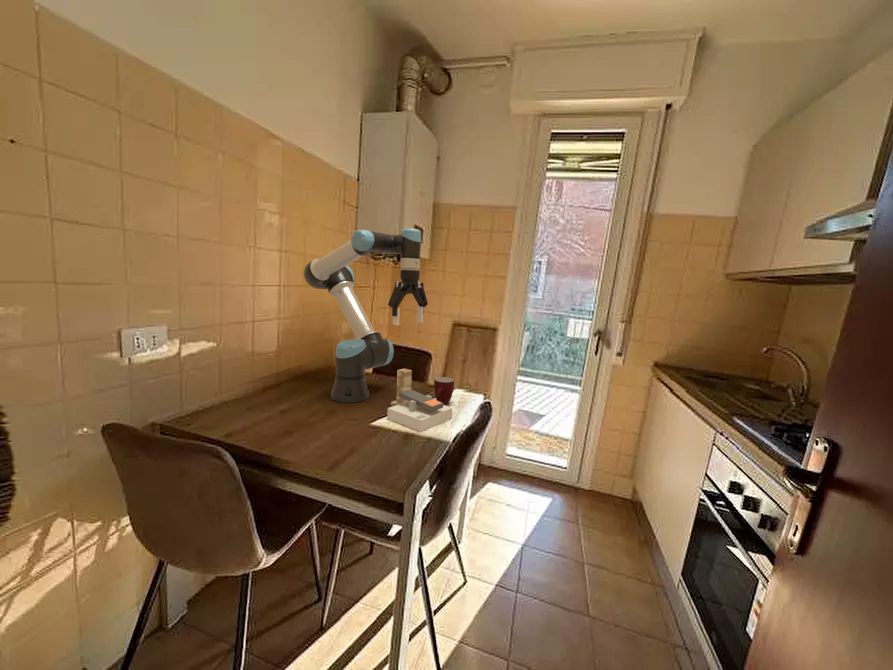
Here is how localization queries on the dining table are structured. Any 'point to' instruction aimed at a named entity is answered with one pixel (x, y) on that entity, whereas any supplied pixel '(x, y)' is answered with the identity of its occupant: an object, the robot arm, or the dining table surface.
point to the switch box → (418, 415)
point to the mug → (443, 389)
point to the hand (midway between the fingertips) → (408, 323)
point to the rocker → (421, 400)
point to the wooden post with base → (402, 384)
